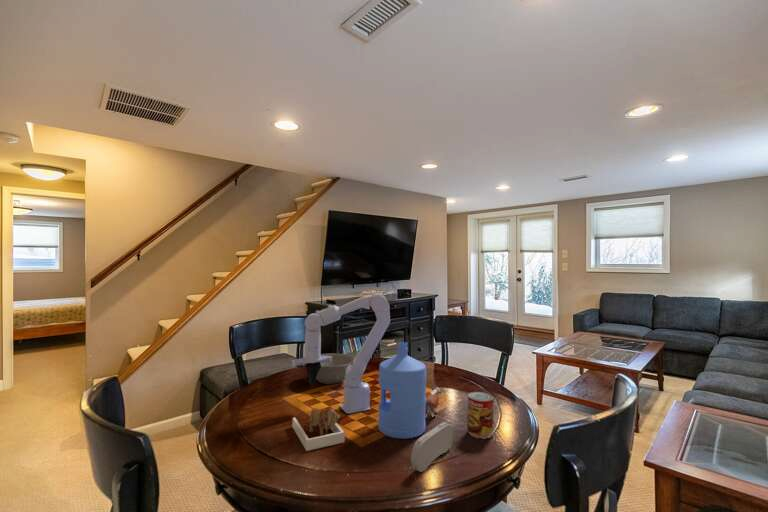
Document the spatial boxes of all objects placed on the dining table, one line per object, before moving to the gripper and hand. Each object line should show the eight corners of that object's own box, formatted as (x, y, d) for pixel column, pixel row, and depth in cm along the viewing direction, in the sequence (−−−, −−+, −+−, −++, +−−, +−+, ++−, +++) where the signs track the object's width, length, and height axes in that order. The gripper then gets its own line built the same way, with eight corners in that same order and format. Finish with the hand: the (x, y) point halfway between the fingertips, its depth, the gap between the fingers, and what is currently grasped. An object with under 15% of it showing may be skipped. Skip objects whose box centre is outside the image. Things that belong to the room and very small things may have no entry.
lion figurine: (341, 437, 112) (342, 408, 112) (328, 443, 108) (329, 413, 108) (311, 423, 121) (312, 396, 121) (298, 428, 117) (299, 400, 117)
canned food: (462, 430, 118) (463, 393, 118) (482, 426, 121) (482, 390, 121) (477, 441, 111) (477, 402, 111) (498, 437, 114) (498, 398, 114)
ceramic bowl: (294, 382, 162) (295, 360, 162) (330, 370, 180) (330, 350, 181) (331, 393, 149) (331, 369, 149) (365, 379, 168) (365, 358, 168)
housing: (326, 420, 124) (326, 411, 124) (344, 442, 109) (344, 432, 109) (292, 427, 118) (292, 417, 118) (306, 451, 103) (306, 440, 103)
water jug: (427, 421, 124) (429, 339, 125) (422, 443, 109) (423, 350, 110) (383, 416, 128) (385, 337, 128) (372, 436, 112) (374, 346, 113)
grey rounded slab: (446, 445, 108) (446, 417, 108) (453, 448, 107) (453, 419, 107) (409, 474, 93) (410, 441, 93) (417, 477, 91) (417, 444, 92)
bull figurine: (443, 408, 135) (443, 386, 136) (433, 422, 123) (433, 398, 123) (432, 406, 137) (432, 385, 137) (420, 420, 125) (421, 396, 125)
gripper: (328, 342, 140) (327, 377, 140) (290, 345, 134) (289, 382, 133) (334, 346, 134) (333, 383, 134) (295, 350, 127) (294, 388, 127)
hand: (312, 383), depth 133 cm, fingers closed
